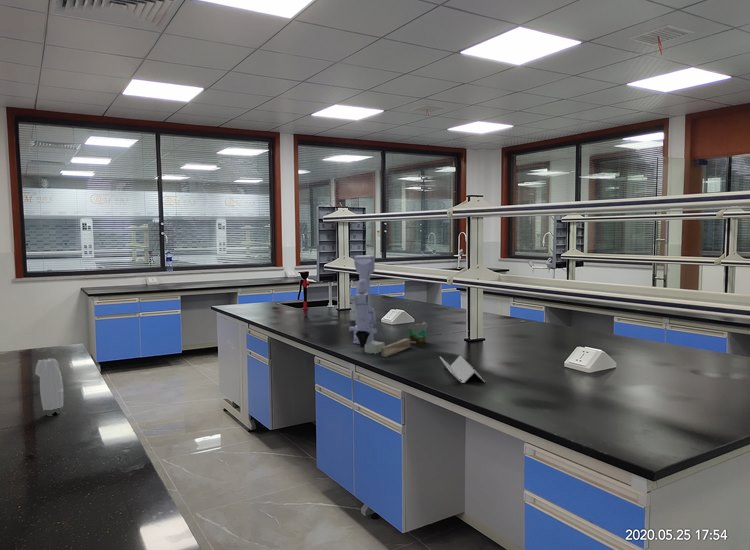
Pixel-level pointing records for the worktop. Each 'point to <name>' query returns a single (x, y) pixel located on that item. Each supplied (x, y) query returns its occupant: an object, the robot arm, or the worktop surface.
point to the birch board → (395, 347)
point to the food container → (417, 333)
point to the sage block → (374, 347)
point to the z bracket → (461, 369)
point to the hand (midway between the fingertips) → (363, 347)
